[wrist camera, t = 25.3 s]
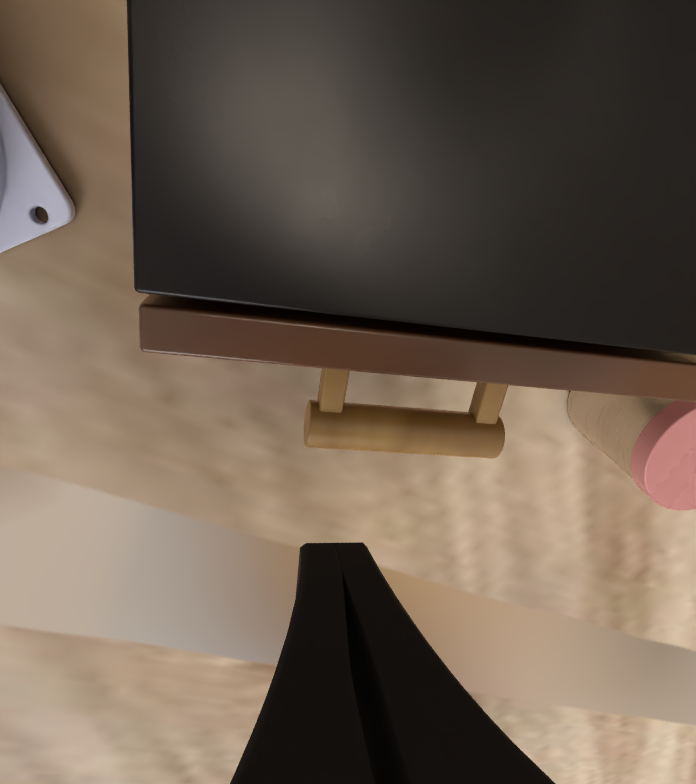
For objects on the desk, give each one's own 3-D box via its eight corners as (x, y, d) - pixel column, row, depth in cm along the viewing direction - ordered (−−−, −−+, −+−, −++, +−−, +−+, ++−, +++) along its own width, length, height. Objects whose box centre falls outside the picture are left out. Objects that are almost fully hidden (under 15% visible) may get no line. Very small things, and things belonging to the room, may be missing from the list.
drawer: (529, 400, 21) (659, 522, 14) (192, 371, 18) (141, 503, 11) (699, -99, 14) (1111, -349, 7) (208, -256, 12) (109, -886, 5)
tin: (580, 454, 23) (659, 530, 18) (551, 378, 21) (631, 442, 16) (672, 406, 22) (777, 471, 18) (651, 324, 20) (763, 373, 16)
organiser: (564, 282, 19) (755, 362, 11) (197, 231, 16) (133, 293, 9) (715, -167, 14) (1245, -557, 6) (212, -346, 11) (88, -1375, 4)
